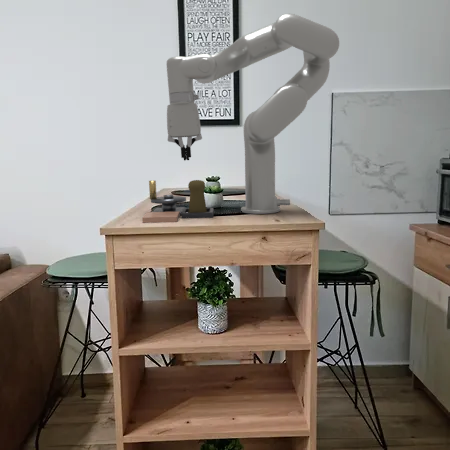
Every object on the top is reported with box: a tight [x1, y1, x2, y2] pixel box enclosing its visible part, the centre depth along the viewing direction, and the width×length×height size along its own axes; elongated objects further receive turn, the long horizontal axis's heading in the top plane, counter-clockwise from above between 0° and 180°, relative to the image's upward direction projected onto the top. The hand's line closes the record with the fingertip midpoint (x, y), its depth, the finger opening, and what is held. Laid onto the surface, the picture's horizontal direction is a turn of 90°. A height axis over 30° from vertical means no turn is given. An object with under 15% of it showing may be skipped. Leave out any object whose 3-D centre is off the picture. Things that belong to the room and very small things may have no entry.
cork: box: [187, 179, 207, 213], centre depth 143 cm, size 6×6×11 cm
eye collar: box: [180, 207, 214, 219], centre depth 144 cm, size 10×10×2 cm
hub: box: [152, 203, 186, 212], centre depth 153 cm, size 10×10×3 cm
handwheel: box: [148, 180, 187, 205], centre depth 152 cm, size 12×12×7 cm
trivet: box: [142, 211, 181, 224], centre depth 138 cm, size 10×10×2 cm
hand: (186, 160), depth 144 cm, fingers closed
